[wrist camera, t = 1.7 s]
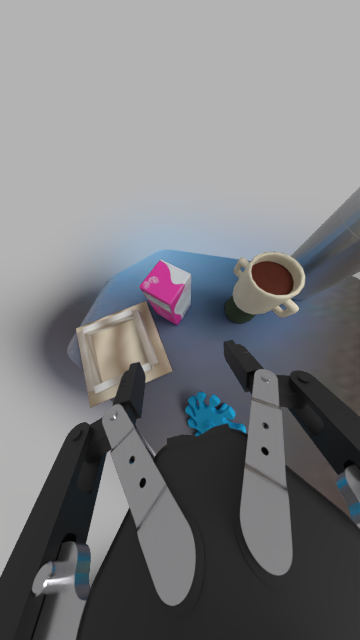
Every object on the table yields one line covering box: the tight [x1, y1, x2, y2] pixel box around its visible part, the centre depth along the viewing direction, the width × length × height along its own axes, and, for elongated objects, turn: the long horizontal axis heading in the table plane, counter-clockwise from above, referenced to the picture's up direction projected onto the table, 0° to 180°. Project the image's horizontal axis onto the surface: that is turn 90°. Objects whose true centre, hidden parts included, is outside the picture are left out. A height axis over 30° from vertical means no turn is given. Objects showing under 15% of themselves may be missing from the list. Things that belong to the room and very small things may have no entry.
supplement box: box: [139, 260, 191, 326], centre depth 24 cm, size 6×6×12 cm
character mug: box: [224, 252, 305, 323], centre depth 23 cm, size 11×7×13 cm, turn 36°
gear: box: [185, 392, 246, 436], centre depth 21 cm, size 11×6×10 cm
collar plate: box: [76, 301, 173, 407], centre depth 26 cm, size 16×16×4 cm
